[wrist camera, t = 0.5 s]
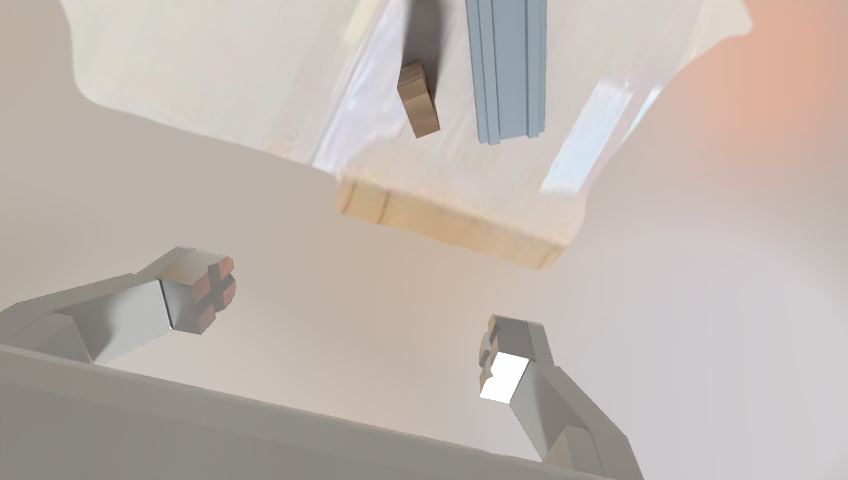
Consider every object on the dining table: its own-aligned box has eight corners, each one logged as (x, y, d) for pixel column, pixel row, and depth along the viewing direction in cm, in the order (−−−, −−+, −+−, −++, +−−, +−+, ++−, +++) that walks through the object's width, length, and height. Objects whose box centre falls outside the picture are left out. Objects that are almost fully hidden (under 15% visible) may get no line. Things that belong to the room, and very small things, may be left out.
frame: (400, 67, 50) (396, 88, 38) (420, 59, 49) (422, 77, 38) (416, 108, 53) (416, 138, 41) (434, 101, 52) (440, 129, 41)
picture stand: (464, -10, 45) (467, -11, 42) (543, -28, 44) (550, -29, 41) (478, 140, 56) (481, 146, 53) (541, 128, 55) (547, 134, 53)
